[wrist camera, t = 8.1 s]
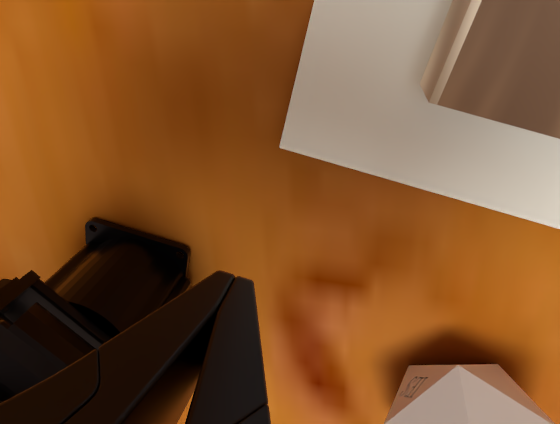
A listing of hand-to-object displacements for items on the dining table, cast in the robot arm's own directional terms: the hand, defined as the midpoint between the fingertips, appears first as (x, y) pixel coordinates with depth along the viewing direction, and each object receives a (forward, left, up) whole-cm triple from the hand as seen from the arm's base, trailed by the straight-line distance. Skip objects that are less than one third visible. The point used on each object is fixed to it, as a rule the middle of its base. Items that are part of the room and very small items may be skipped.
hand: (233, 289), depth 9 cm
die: (+13, -13, -12) cm, 22 cm away
